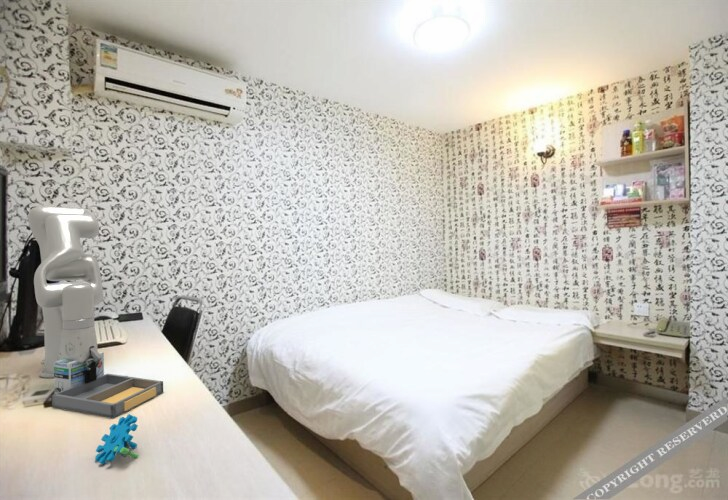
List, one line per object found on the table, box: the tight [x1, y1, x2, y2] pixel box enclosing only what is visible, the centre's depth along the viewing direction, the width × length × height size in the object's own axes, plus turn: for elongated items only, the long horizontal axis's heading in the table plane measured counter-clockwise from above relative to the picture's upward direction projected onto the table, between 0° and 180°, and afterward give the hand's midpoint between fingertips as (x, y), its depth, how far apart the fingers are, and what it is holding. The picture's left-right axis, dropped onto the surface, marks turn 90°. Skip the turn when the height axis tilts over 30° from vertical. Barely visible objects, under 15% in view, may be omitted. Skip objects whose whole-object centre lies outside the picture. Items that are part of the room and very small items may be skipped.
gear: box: [94, 413, 139, 465], centre depth 77 cm, size 11×6×10 cm
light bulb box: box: [53, 351, 105, 394], centre depth 108 cm, size 11×7×11 cm, turn 167°
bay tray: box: [51, 373, 164, 419], centre depth 102 cm, size 23×16×4 cm
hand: (80, 380), depth 108 cm, fingers open, 7 cm apart
